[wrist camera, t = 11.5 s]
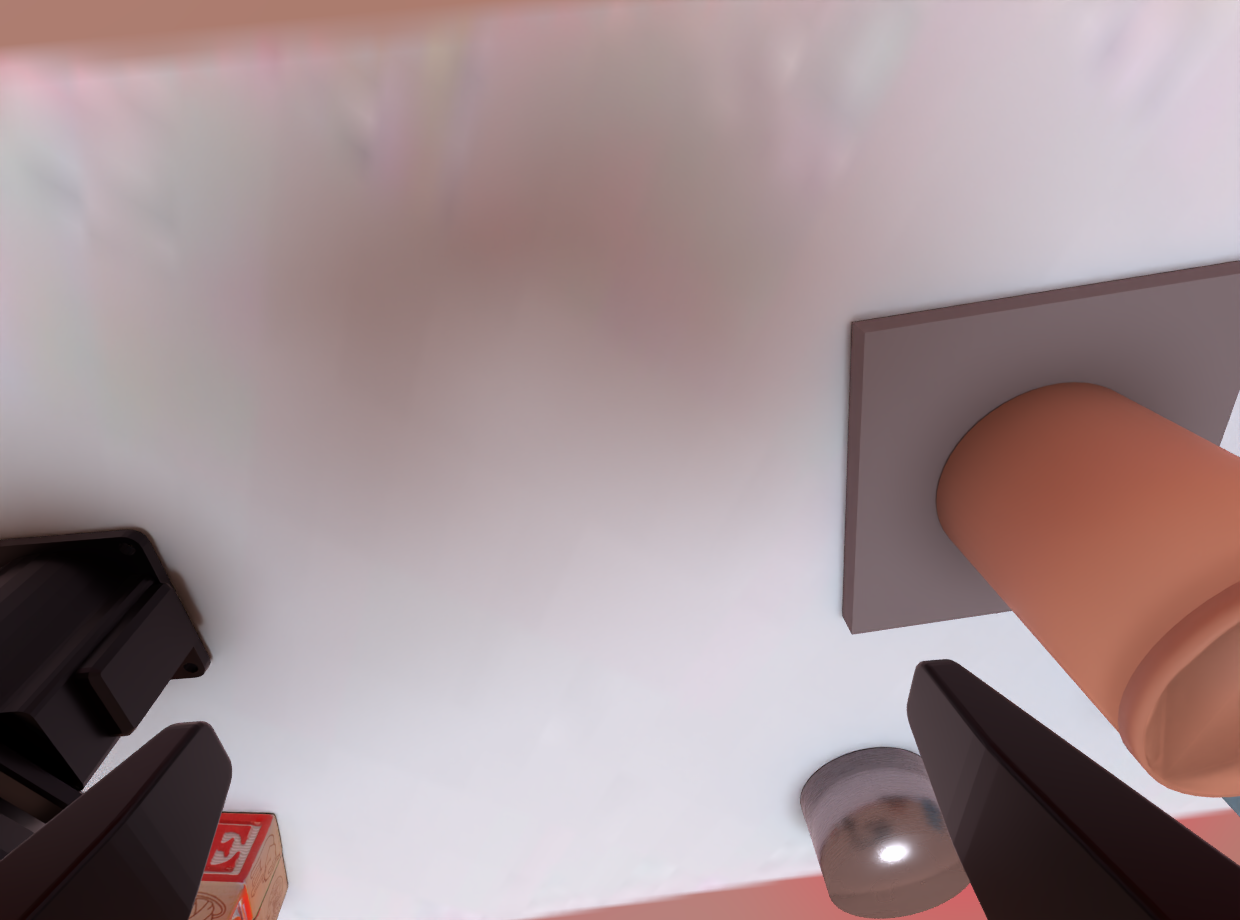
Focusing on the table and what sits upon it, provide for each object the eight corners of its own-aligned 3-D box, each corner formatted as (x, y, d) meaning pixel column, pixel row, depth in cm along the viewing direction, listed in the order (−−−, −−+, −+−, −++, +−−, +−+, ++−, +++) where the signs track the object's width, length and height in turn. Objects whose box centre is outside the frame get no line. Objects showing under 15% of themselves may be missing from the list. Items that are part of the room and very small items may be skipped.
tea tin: (795, 836, 33) (821, 924, 29) (806, 754, 29) (836, 842, 26) (920, 824, 33) (961, 911, 29) (944, 741, 30) (993, 828, 26)
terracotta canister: (977, 592, 24) (1178, 833, 16) (899, 463, 21) (1099, 681, 13) (1168, 491, 22) (1498, 704, 14) (1113, 334, 19) (1491, 495, 11)
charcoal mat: (842, 616, 25) (851, 634, 25) (851, 322, 20) (865, 332, 19) (1148, 570, 25) (1169, 587, 24) (1251, 258, 19) (1283, 266, 18)
